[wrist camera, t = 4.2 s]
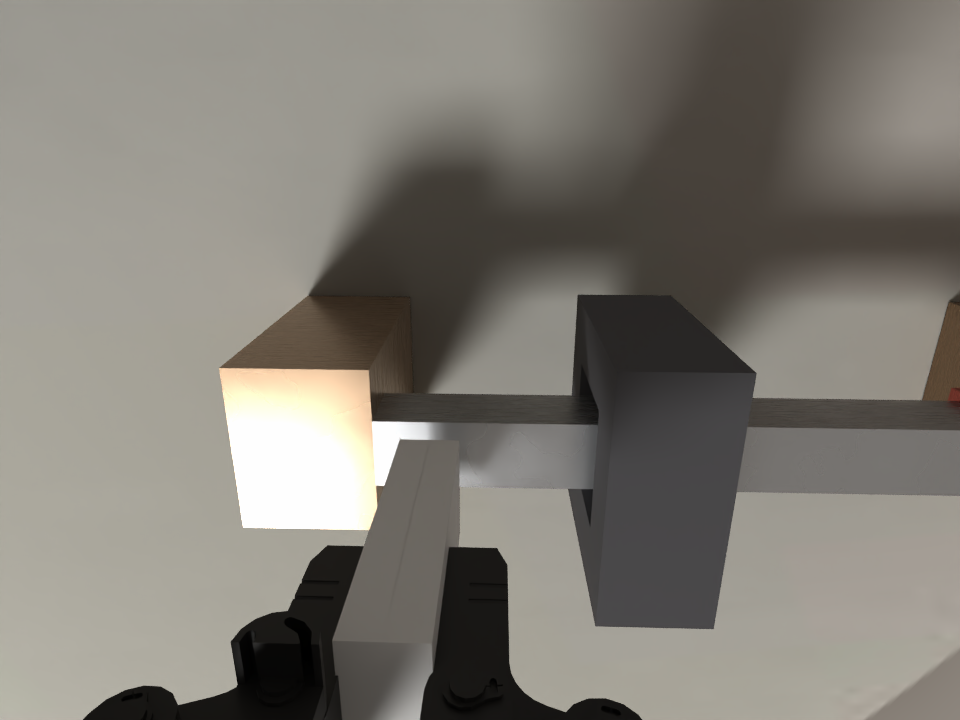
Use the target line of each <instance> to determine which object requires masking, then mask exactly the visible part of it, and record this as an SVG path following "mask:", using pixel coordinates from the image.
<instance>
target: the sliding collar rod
mask: <svg viewBox="0 0 960 720" xmlns="http://www.w3.org/2000/svg"><path fill="white" fill-rule="evenodd" d="M219 371H220V377H221V384H222V390H223V397H224V403H225V410H226V417H227V423H228V430H229V436H230V443H231V449H232V456H233V463H234V469H235V476H236V482H237V489H238V495H239V502H240V508H241V515H242V522H243V527H249V528H300V529H350V530H370V527H371V524H372V521H373V518H374V515H375V512H376V509H377V506H378V503H379V500H380V497H381V494H382V491H383V488H384V485H385V482H386V479H387V476H388V473H389V470H390V467H391V464H392V461H393V458H394V455H395V452H396V449H397V446H398V443H399V440H400V439H409V440H455V441H459V483H460V487H494V488H550V489H593V485H594V472H595V459H596V445H597V432H598V419H599V410H598V407H597V404H596V401H595V399H594V396H570V395H498V394H426V393H414V391H413V364H412V337H411V310H410V297H370V296H307V297H306V298H304V299H303V300H302V301H301V302H300V303H298V304H297V305H296V306H295V307H293V308H292V309H291V310H290V311H289V312H287V313H286V314H285V315H284V316H282V317H281V318H280V319H279V320H278V321H276V322H275V323H274V324H273V325H271V326H270V327H269V328H268V329H267V330H265V331H264V332H263V333H262V334H260V335H259V336H258V337H257V338H256V339H254V340H253V341H252V342H251V343H249V344H248V345H247V346H246V347H244V348H243V349H242V350H241V351H240V352H238V353H237V354H236V355H235V356H233V357H232V358H231V359H230V360H229V361H227V362H226V363H225V364H224V365H222V366H221V367H220V368H219ZM737 492H774V493H830V494H886V495H942V496H960V302H949V304H948V307H947V311H946V315H945V318H944V322H943V326H942V329H941V333H940V337H939V340H938V344H937V348H936V351H935V355H934V359H933V362H932V366H931V370H930V373H929V377H928V381H927V384H926V388H925V392H924V396H923V399H922V400H857V399H785V398H752V403H751V409H750V415H749V421H748V427H747V433H746V439H745V445H744V451H743V457H742V463H741V469H740V475H739V480H738V486H737Z"/></svg>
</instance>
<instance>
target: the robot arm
mask: <svg viewBox="0 0 960 720" xmlns="http://www.w3.org/2000/svg"><path fill="white" fill-rule="evenodd" d="M459 534H460V483H459V441H455V440H409V439H400V440H399V443H398V446H397V449H396V452H395V455H394V458H393V461H392V464H391V467H390V470H389V473H388V476H387V479H386V482H385V485H384V488H383V491H382V494H381V497H380V500H379V503H378V506H377V509H376V512H375V515H374V518H373V521H372V524H371V527H370V530H369V533H368V535H367V538H366V541H365V544H364V546H329V545H327V546H326V547H325V548H324V549H323V550H322V551H321V552H320V553H319V554H318V555H317V556H316V557H314V558H313V559H312V560H311V561H310V563H309V565H308V568H307V570H306V572H305V574H304V576H303V579H302V583H301V584H300V585H299V588H298V590H297V592H296V594H295V599H293V601H292V603H291V605H290V607H289V610H288V611H284V612H275V613H271V614H268V615H265V616H263V617H260V618H257V619H255V620H253V621H252V622H251V623H249V624H248V625H246V626H245V627H243V628H242V629H241V630H240V631H239V632H238V633H237V635H236V636H235V637H234V639H233V640H232V641H231V647H232V653H233V659H234V665H235V671H236V677H237V683H238V685H237V687H236V688H234V689H232V690H230V691H228V692H226V693H223V694H220V695H217V696H214V697H210V698H206V699H202V700H198V701H194V702H190V703H186V704H182V705H178V704H177V702H176V700H175V698H174V696H173V693H171V692H169V691H167V690H166V689H164V688H162V687H157V686H141V687H137V688H133V689H128V690H125V691H123V692H121V693H119V694H117V695H115V696H113V697H111V698H109V699H107V700H105V701H104V702H103V703H101V704H100V705H99V706H98V707H96V708H95V709H94V710H93V711H91V712H90V713H89V714H88V715H87V716H86V717H85V718H84V719H83V720H642V719H641V718H640V716H639V715H638V714H636V713H635V712H633V711H632V710H631V709H629V708H628V707H626V706H625V705H624V704H621V703H618V702H615V701H612V700H609V699H586V700H583V701H581V702H578V703H576V704H573V706H572V707H571V708H570V709H569V710H568V711H567V712H563V711H560V710H557V709H554V708H551V707H549V706H546V705H544V704H542V703H539V702H537V701H535V700H533V699H532V698H531V697H529V696H528V695H527V694H525V693H524V692H523V691H522V690H521V689H520V687H519V686H518V685H517V684H516V682H515V680H514V678H513V676H512V674H511V671H510V665H509V628H508V573H507V564H506V562H505V560H504V559H503V557H502V556H501V554H500V552H499V551H498V549H497V548H468V547H458V544H459Z"/></svg>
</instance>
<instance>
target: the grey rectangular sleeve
mask: <svg viewBox="0 0 960 720" xmlns="http://www.w3.org/2000/svg"><path fill="white" fill-rule="evenodd" d="M756 374H757V373H756V372H755V371H753V370H752V369H751V368H750V367H749V366H748V365H747V364H746V363H745V362H743V361H742V360H741V359H740V358H739V357H738V356H737V355H736V354H735V353H734V352H732V351H731V350H730V349H729V348H728V347H727V346H726V345H725V344H724V343H722V342H721V341H720V340H719V339H718V338H717V337H716V336H715V335H714V334H712V333H711V332H710V331H709V330H708V329H707V328H706V327H705V326H704V325H703V324H701V323H700V322H699V321H698V320H697V319H696V318H695V317H694V316H693V315H691V314H690V313H689V312H688V311H687V310H686V309H685V308H684V307H683V306H682V305H680V304H679V303H678V302H677V301H676V300H675V299H674V298H673V297H672V296H656V295H578V300H577V317H576V334H575V351H574V368H573V385H572V396H594V399H595V401H596V404H597V407H598V410H599V419H598V432H597V445H596V459H595V472H594V485H593V489H568V491H569V496H570V501H571V506H572V511H573V516H574V521H575V526H576V531H577V536H578V541H579V546H580V551H581V556H582V561H583V566H584V571H585V576H586V581H587V586H588V591H589V596H590V601H591V606H592V611H593V616H594V621H595V626H607V627H649V628H691V629H714V623H715V617H716V611H717V605H718V599H719V593H720V587H721V581H722V575H723V570H724V564H725V558H726V552H727V546H728V540H729V534H730V528H731V522H732V516H733V510H734V504H735V498H736V492H737V486H738V480H739V475H740V469H741V463H742V457H743V451H744V445H745V439H746V433H747V427H748V421H749V415H750V409H751V403H752V397H753V391H754V385H755V380H756Z"/></svg>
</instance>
